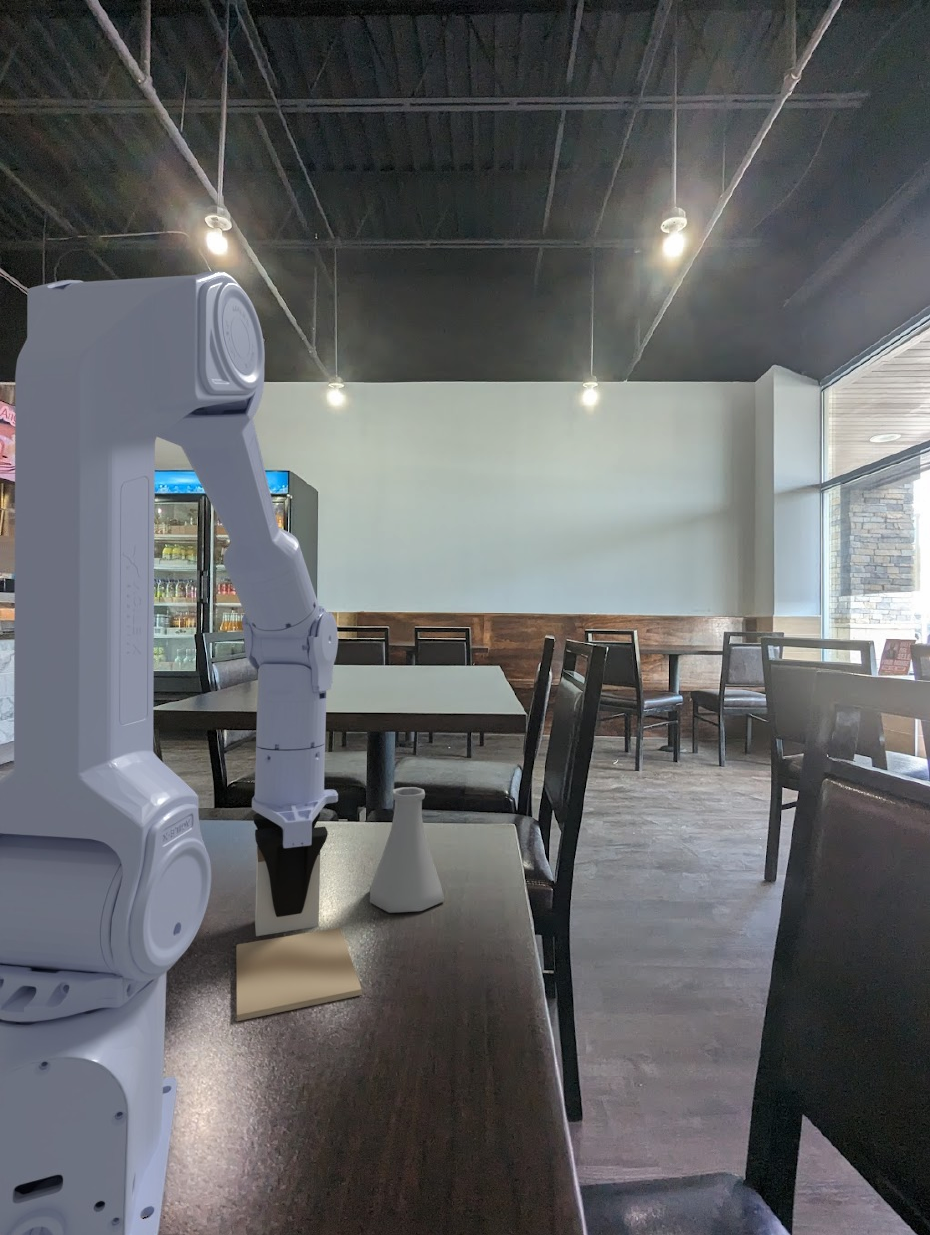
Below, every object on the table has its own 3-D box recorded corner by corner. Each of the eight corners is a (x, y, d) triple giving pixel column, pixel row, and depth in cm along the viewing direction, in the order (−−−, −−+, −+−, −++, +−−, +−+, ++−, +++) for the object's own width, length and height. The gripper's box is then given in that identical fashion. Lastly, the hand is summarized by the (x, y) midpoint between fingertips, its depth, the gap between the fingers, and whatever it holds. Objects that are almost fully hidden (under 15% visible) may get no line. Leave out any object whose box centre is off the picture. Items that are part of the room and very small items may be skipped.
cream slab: (318, 926, 50) (320, 848, 50) (256, 936, 48) (258, 855, 48) (314, 912, 52) (316, 838, 52) (255, 922, 50) (257, 845, 50)
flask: (358, 889, 57) (360, 785, 57) (426, 876, 60) (428, 778, 60) (382, 922, 50) (384, 805, 51) (457, 905, 54) (459, 796, 54)
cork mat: (361, 994, 40) (361, 989, 40) (236, 1021, 37) (236, 1015, 37) (339, 932, 48) (339, 927, 48) (236, 949, 45) (236, 944, 46)
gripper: (353, 758, 45) (349, 937, 45) (326, 729, 58) (323, 866, 58) (256, 764, 42) (251, 954, 42) (251, 732, 56) (247, 876, 55)
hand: (287, 904), depth 50 cm, fingers open, 3 cm apart
